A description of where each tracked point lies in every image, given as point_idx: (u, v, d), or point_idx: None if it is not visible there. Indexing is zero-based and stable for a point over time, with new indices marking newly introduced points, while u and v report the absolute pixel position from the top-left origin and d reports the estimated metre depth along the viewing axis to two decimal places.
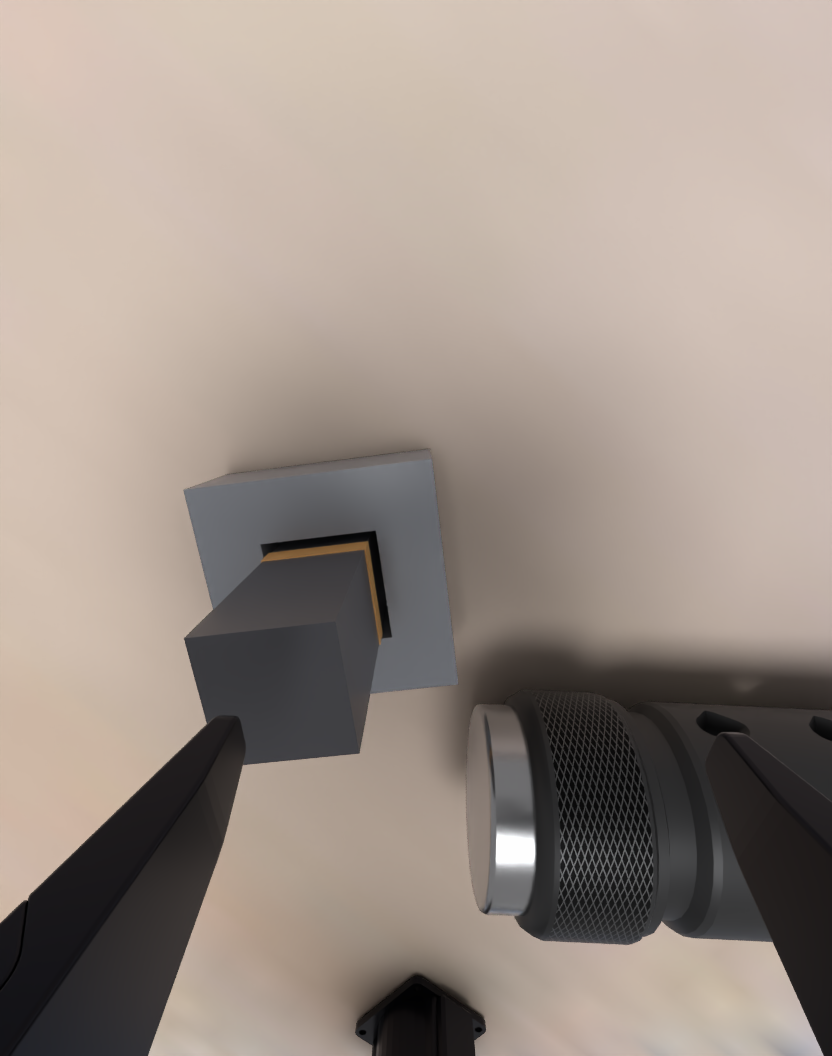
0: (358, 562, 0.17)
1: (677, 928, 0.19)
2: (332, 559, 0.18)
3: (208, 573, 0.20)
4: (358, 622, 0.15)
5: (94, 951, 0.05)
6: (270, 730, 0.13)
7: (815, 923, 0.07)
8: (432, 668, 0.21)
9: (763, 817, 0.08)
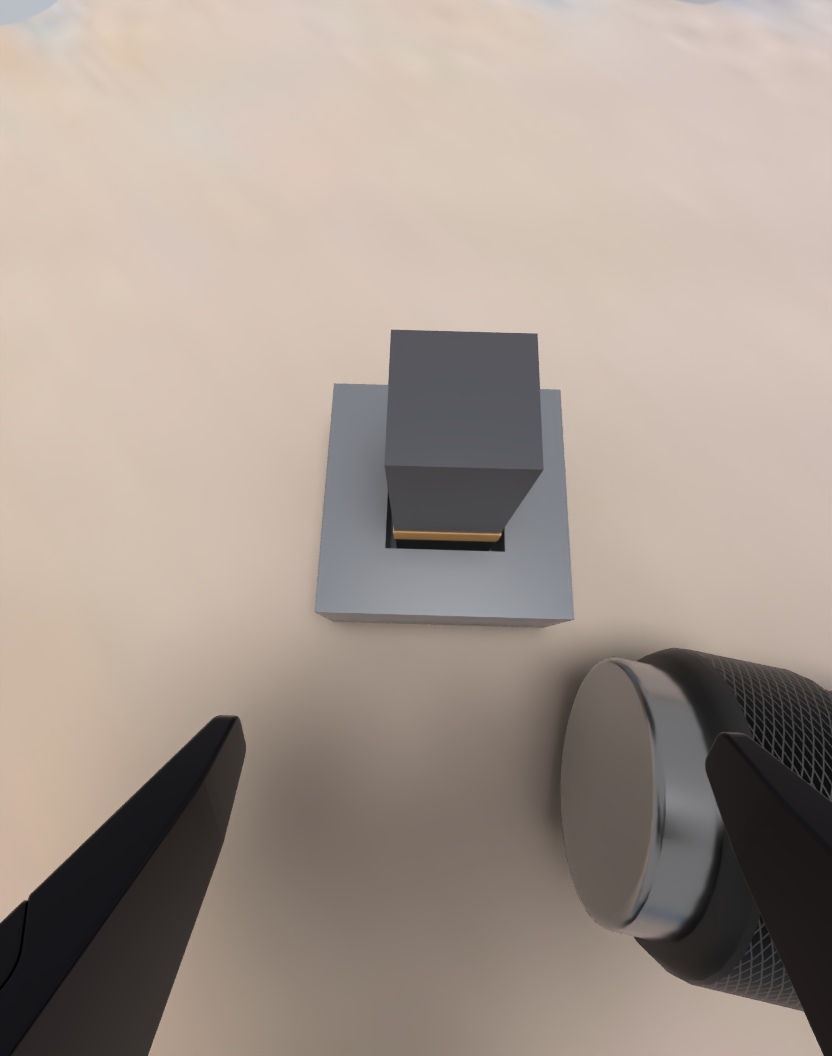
0: None
1: None
2: None
3: (332, 457, 0.20)
4: None
5: (94, 951, 0.05)
6: (451, 431, 0.12)
7: (815, 923, 0.07)
8: (545, 595, 0.19)
9: (763, 817, 0.08)
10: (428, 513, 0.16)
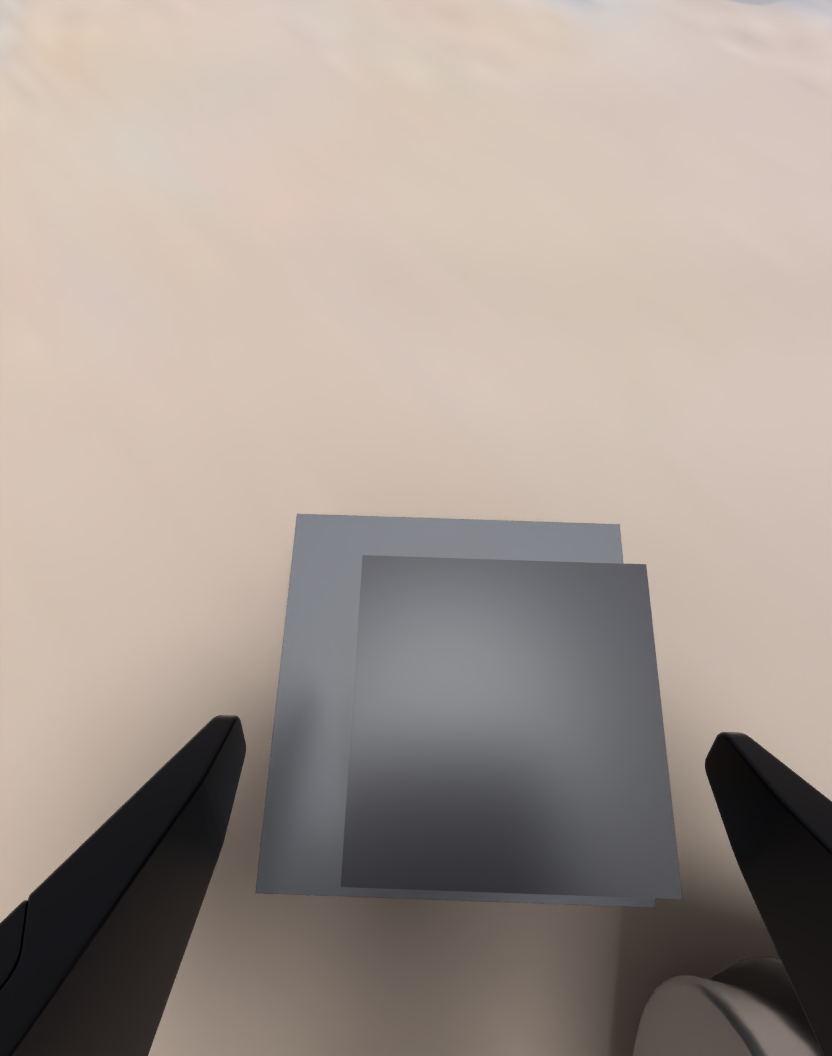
0: None
1: None
2: None
3: (290, 631, 0.14)
4: None
5: (94, 952, 0.05)
6: (483, 796, 0.06)
7: (815, 923, 0.07)
8: None
9: (763, 817, 0.08)
10: None
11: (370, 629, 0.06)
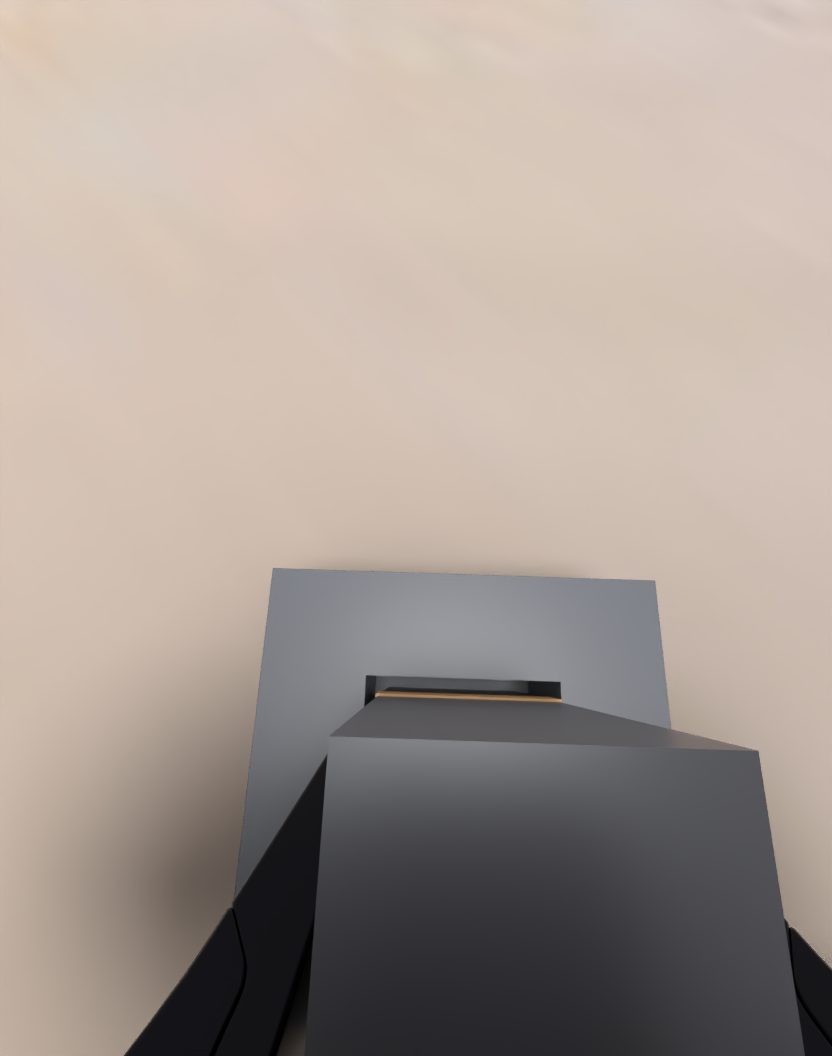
0: (581, 708, 0.09)
1: None
2: (518, 702, 0.10)
3: (263, 714, 0.11)
4: None
5: (311, 959, 0.05)
6: None
7: None
8: None
9: None
10: None
11: (338, 864, 0.04)
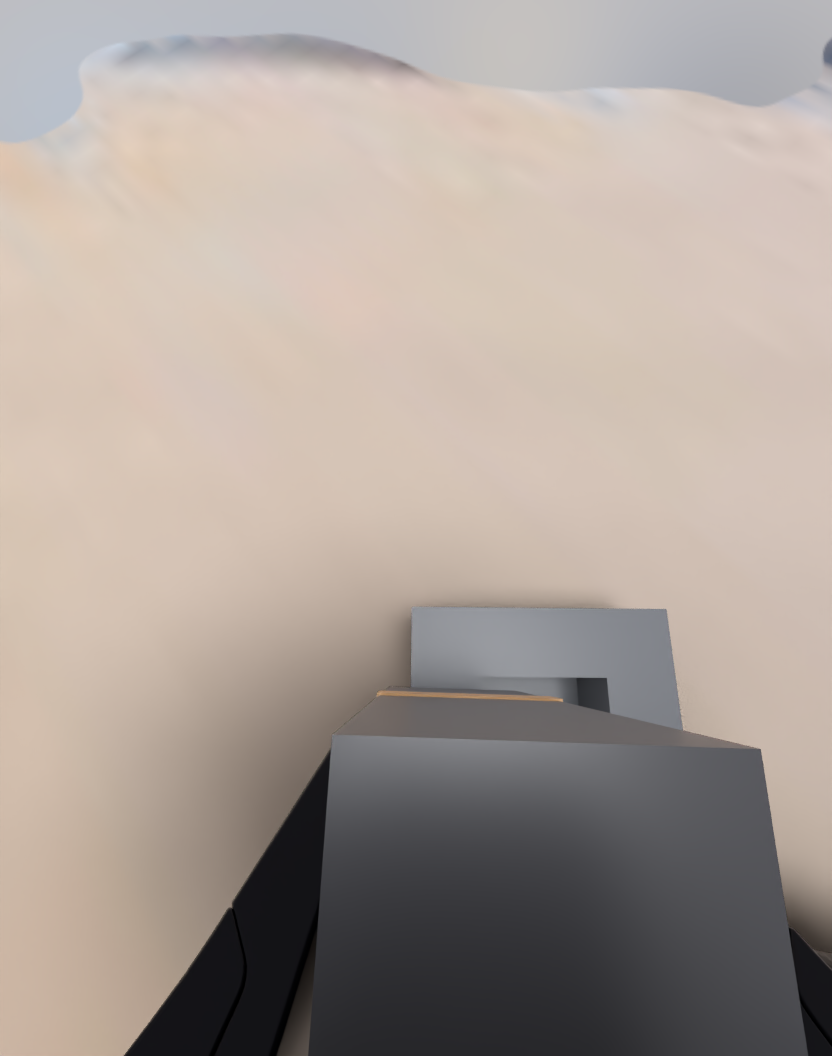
0: (583, 707, 0.09)
1: None
2: (519, 701, 0.10)
3: None
4: None
5: (310, 959, 0.05)
6: None
7: None
8: None
9: None
10: None
11: (342, 862, 0.04)
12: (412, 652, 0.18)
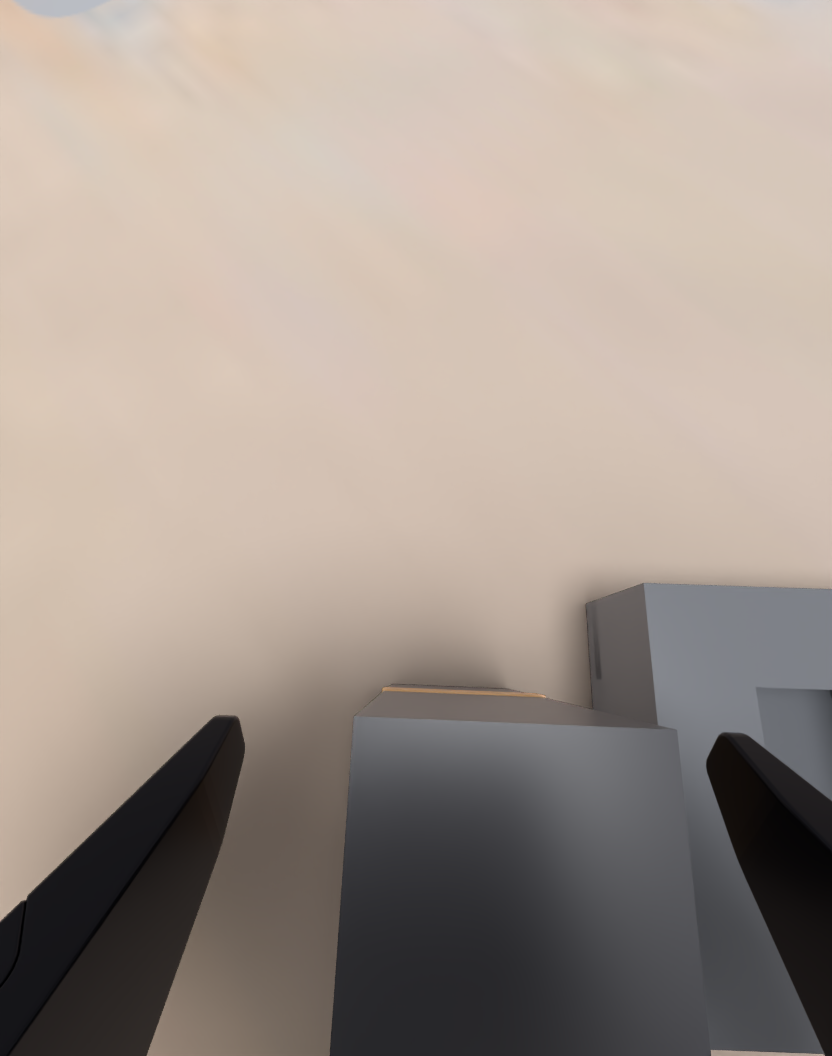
0: (560, 702, 0.10)
1: None
2: (506, 697, 0.11)
3: (666, 725, 0.12)
4: None
5: (92, 951, 0.05)
6: (490, 1023, 0.05)
7: (816, 923, 0.07)
8: None
9: (764, 817, 0.08)
10: None
11: (361, 810, 0.06)
12: (652, 649, 0.12)
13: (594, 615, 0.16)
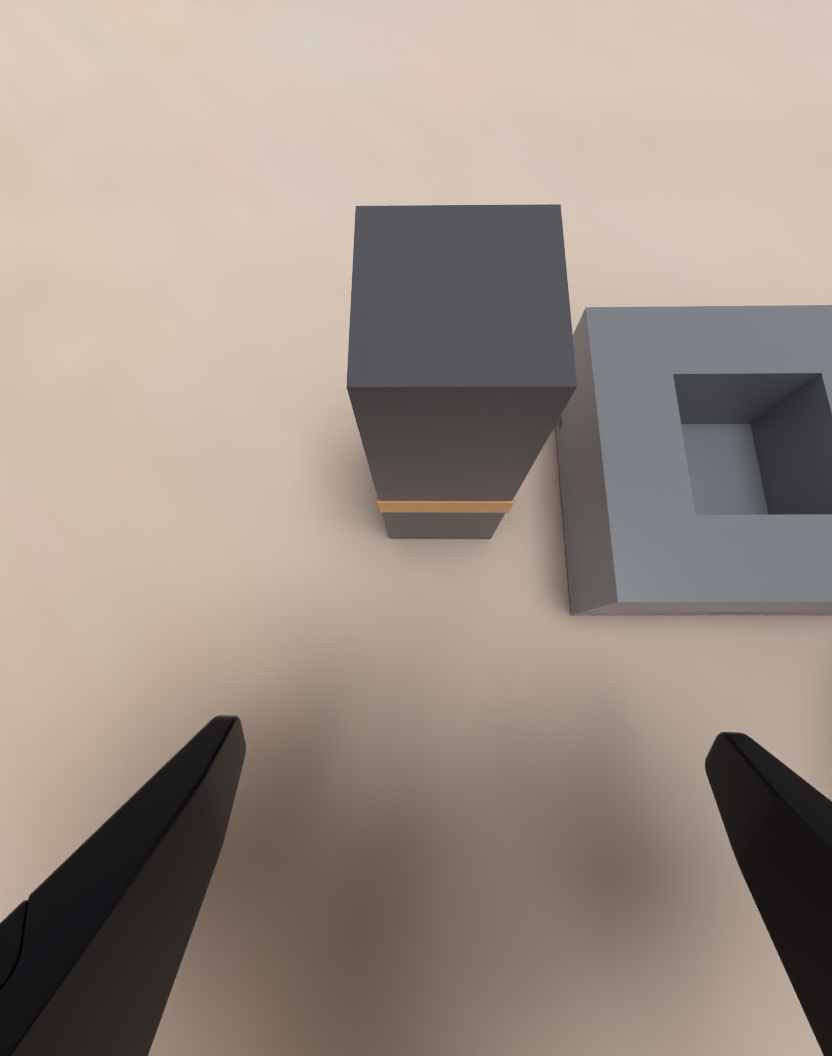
0: None
1: None
2: None
3: (602, 400, 0.15)
4: None
5: (94, 951, 0.05)
6: (442, 337, 0.09)
7: (815, 923, 0.07)
8: None
9: (763, 817, 0.08)
10: (419, 472, 0.12)
11: (362, 247, 0.09)
12: (592, 351, 0.16)
13: None
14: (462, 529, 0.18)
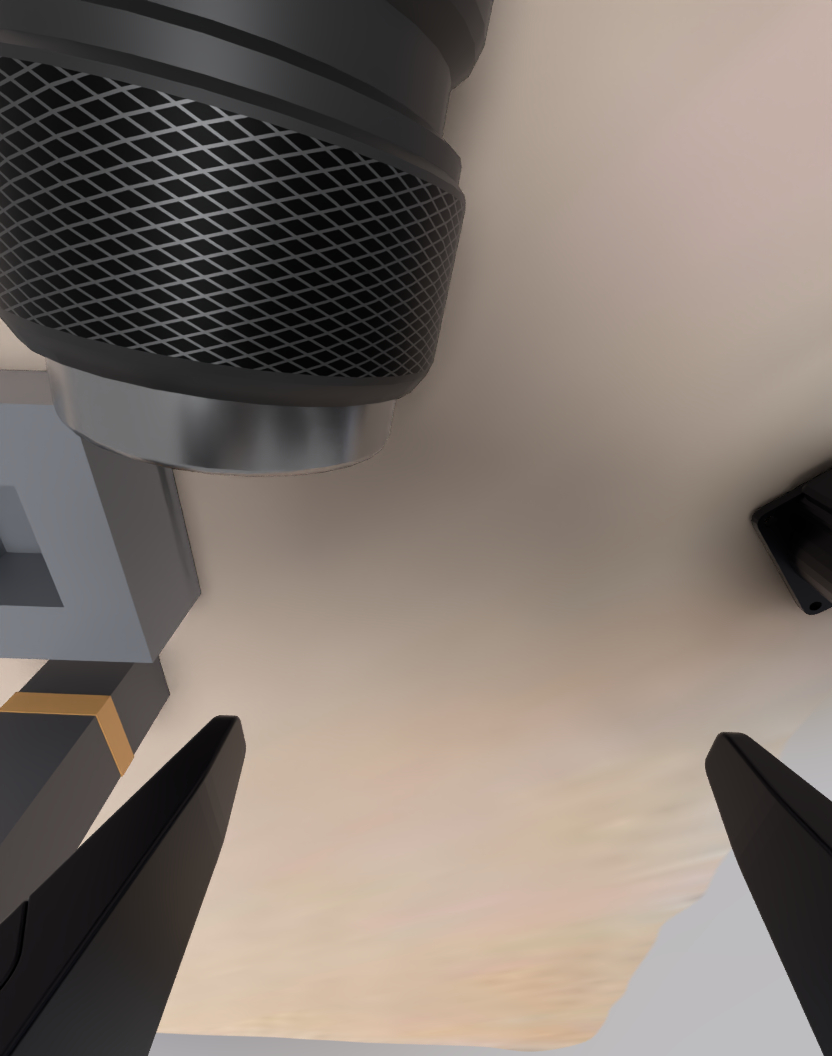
0: None
1: None
2: None
3: None
4: None
5: (94, 951, 0.05)
6: None
7: (815, 923, 0.07)
8: (51, 439, 0.14)
9: (763, 817, 0.08)
10: (80, 810, 0.19)
11: None
12: None
13: None
14: (143, 677, 0.23)
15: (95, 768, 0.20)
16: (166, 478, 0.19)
